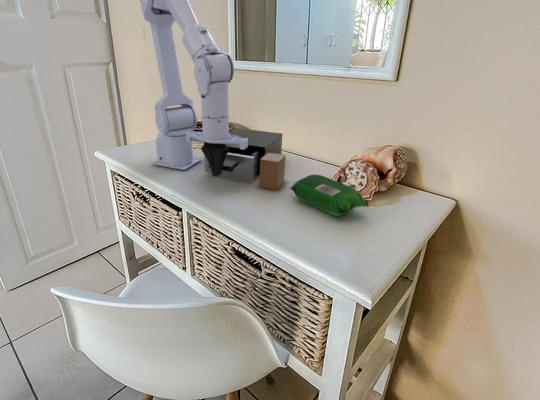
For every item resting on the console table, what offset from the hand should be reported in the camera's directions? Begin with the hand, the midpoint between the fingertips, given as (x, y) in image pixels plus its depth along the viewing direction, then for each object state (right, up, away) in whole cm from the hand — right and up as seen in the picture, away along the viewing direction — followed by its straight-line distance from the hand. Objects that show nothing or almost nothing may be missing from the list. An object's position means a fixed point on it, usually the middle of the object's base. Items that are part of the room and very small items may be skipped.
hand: (217, 174), depth 77 cm
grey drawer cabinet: (+8, +5, +16) cm, 19 cm away
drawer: (+4, +2, +9) cm, 10 cm away
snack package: (+23, -7, -7) cm, 25 cm away
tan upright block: (+13, -2, +3) cm, 13 cm away
